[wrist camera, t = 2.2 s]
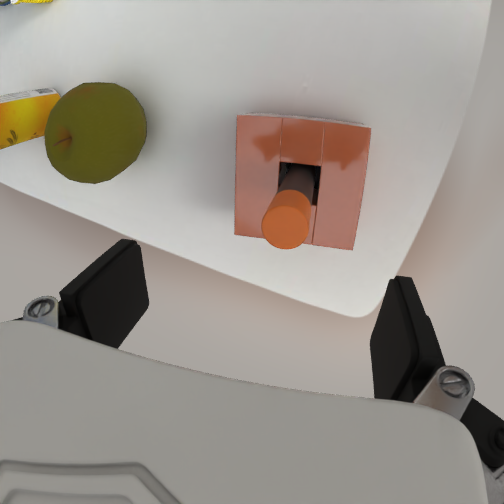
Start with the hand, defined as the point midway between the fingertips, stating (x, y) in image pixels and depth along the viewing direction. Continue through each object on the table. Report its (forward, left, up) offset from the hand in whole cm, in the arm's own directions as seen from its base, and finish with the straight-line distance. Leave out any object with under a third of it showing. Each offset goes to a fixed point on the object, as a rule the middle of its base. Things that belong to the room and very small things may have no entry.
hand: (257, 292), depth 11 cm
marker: (0, 0, -20) cm, 20 cm away
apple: (+19, -4, -20) cm, 28 cm away
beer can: (+31, -7, -20) cm, 37 cm away
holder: (0, 0, -20) cm, 20 cm away
